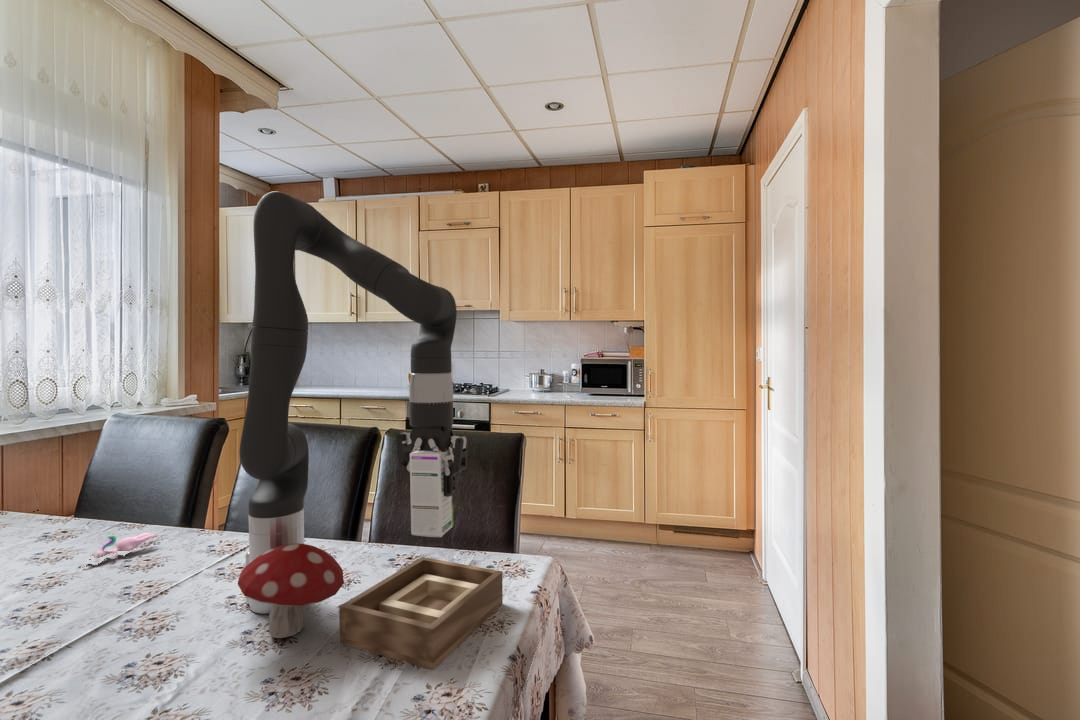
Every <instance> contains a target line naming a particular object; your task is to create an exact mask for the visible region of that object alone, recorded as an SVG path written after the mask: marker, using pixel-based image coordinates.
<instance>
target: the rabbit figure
mask: <svg viewBox="0 0 1080 720" xmlns="http://www.w3.org/2000/svg"><path fill="white" fill-rule="evenodd" d="M153 537H159V534H156V533H150V532H143V533H140V534H138V535H135V536H128V537H124V538H122V539H121V540H119V541H118V542H117V543H116V541H117V537H116V536H115V535H113V534H112V535H111V534H110V535H109V536H107V537H106V539H108V540H107V541H106V542H104V544H103V545H102V547H100V549H98V550H95V551H94V552H92V553H91V554H89V556H90V557H91V556H94V558H100V557H103V556H105V555H107V554H110V553H113V555H112V556H114V555H115V556H117V554H118V553H117V551H130V550H133V549H134V548H136V547H137V548H138V547H139V546H141V545H142V544H143V543H145V542H146V541H147V540H149V539H151V538H153ZM114 544H116V546H115V548H114V549H110V550H109V549H107V550H108V551H104V550H105V549H106V548H107V547H110V546H113V545H114ZM115 556H114V557H115ZM89 560H91V559H89Z"/></svg>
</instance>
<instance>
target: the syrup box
mask: <svg viewBox="0 0 1080 720" xmlns="http://www.w3.org/2000/svg"><path fill="white" fill-rule="evenodd" d="M450 448H451V450H452V451H453V447H450ZM411 452H412V451H411ZM442 454H443V456H444V457H446V456H448V451H447V452H442V453H438V452H433V451H432V450H420V451H415V452H412V453H410V488H409V491H410V492H409V493H410V531H411V536H418V537H429V538H430V537H431V538H442V537H443V536H444V535H445V534H446V533H447V532H448V531H449V530H451V528H453V527H454V525H455V524H454V523H455V522H454V494H453V495H451V496H449V497H445V496H444V475H445V474H444V471H443V464H442V462H441V455H442Z"/></svg>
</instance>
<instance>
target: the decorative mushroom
mask: <svg viewBox="0 0 1080 720" xmlns="http://www.w3.org/2000/svg"><path fill="white" fill-rule="evenodd" d="M343 571H344V569H343V568H342V567H341V565H340V563H338V561H337V560H336V559H335V558H334V557H333V556H332V555H331V553H329V552H327V551H325V550H324V549H321V548H319V547H317V546H314V545H312V544H311V545H310V544H306V543H304V544H289V545H283V546H280V547H277V548H274V549H272V550H269V551H267V552H265V553H263V554H261V555H260V556H258V557H257V558H256V559H254V560H253V561H252V562H250V563H249V564H248V565H247V566H246V565H245V566H244V567H243V568H242V570H241V572H240V573H239V578H238V581H237V585H238V588H239V589H240V591H241V593H242V594H243V596H244V597H245V598H246V597H248V598H251V599H253V600H256V601H258V602H261V603H267V604H272V608H271V612H270V613H269V616H268V634H269V635H270V637H272V638H276V639H284V638H288V637H292V636H295V635H296V634H298V633H299V632H300V631H301V630H302V629H303V616H302V615H303V614H302V608H301V607H305V606H309V605H313V604H317V603H322V602H323V601H326V600H328V599H329V598H332V597H334V596H335V595H336V594H337V593H339V590H340V589H341V588H342V587H343V586H344V572H343Z"/></svg>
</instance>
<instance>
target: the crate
mask: <svg viewBox="0 0 1080 720" xmlns="http://www.w3.org/2000/svg"><path fill="white" fill-rule="evenodd" d="M502 605H503V571H501V570H495V569H490V568H485V567H479V566H475V565H474V566H473V565H468V564H462V563H459V562H452V561H446V560H441V559H437V558H430V557H425V556H421V557H419V558H418V559H416V560H415V561H412V562H411V563H408V565H405V566H404V567H403V568H401V569H399V570H398V571H396V572H394V573H392V574H391V575H389V576H388V577H386V578H384V579H382V580H381V581H379V582H377V583H375V584H374V585H372V586H370V587H369V588H368V589H365V590H364V591H363V592H360V593H359V594H357V595H356V596H354V597H353V598H351V599H349V600H347V601H346V602H344V603H342V604H340V605H339V607H338V609H339V610H338V611H339V612H338V614H339V615H338V617H339V618H338V620H339V621H338V623H339V625H338V627H339V628H338V629H339V631H338V632H339V644H341V645H345V646H349V647H351V648H355V649H359V650H362V651H365V652H369V653H371V654H376V655H379V656H382V657H386V658H391V659H393V660H397V661H401V662H403V663H408V664H411V665H415V666H417V667H422V668H425V669H429V670H432V671H434V670H435V669H436V668H437V667H438V666H439V665H441V663H442V662H444V660H445V659H446V658H448V656H449V655H451V653H453V652H454V651H455V650H456V649H457V648H458V647H459V646H460V645H461V644H462V643H463V642H464V641H465V640H466V639H467V638H469V636H471V634H473V633H474V632H475V631H476V630H477V629H478V628H479V627H480V626H481V625H482V624H483V623H484V622H485V621H487V619H488V618H490V617H491V615H492V614H494V613H495V612H496V611H497V610H498V609H499V608H500V607H501V606H502Z"/></svg>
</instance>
